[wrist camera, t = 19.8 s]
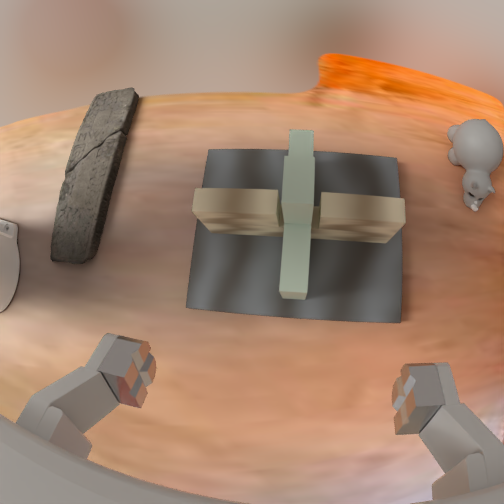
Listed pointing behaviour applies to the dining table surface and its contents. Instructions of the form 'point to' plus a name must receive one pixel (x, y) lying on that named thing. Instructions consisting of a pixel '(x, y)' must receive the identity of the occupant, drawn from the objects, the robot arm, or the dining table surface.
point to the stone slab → (91, 176)
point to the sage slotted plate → (297, 214)
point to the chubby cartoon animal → (475, 157)
